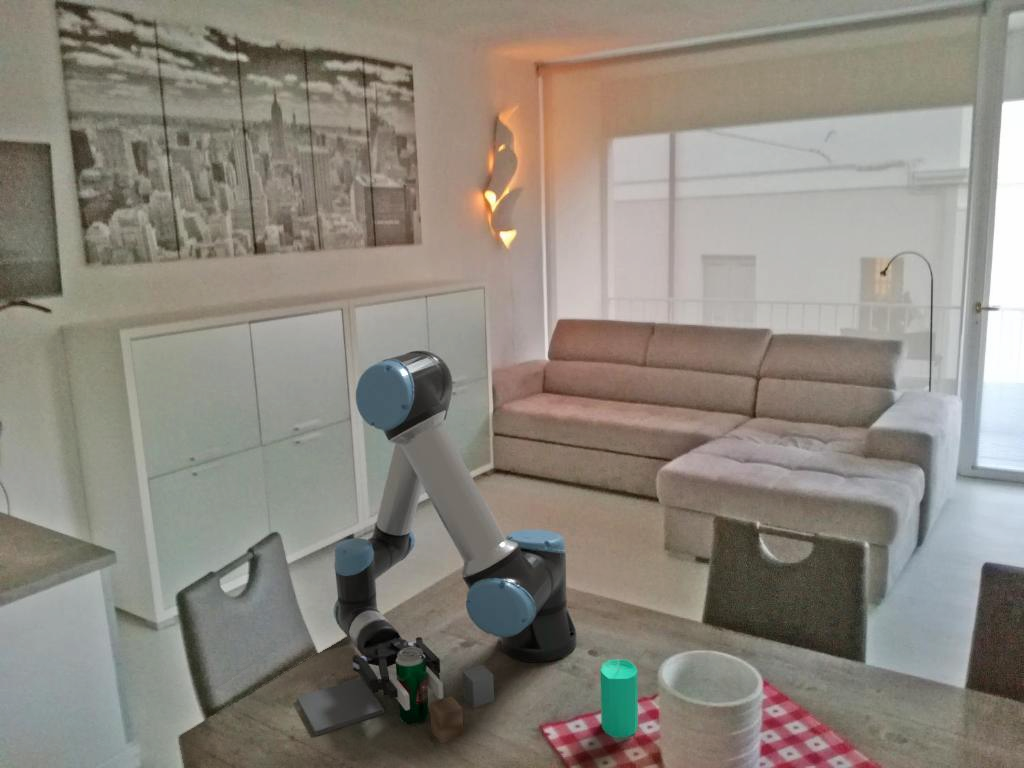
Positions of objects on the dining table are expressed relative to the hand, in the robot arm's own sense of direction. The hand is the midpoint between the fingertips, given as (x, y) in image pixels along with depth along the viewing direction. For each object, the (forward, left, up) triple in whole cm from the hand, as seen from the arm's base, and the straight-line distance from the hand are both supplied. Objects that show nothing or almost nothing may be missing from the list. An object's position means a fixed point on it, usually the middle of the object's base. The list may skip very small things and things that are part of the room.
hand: (424, 696), depth 135 cm
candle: (-28, +16, -7) cm, 33 cm away
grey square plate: (+10, -15, -7) cm, 19 cm away
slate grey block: (-12, -4, -7) cm, 14 cm away
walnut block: (-3, +2, -7) cm, 8 cm away
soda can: (0, -5, -7) cm, 9 cm away
